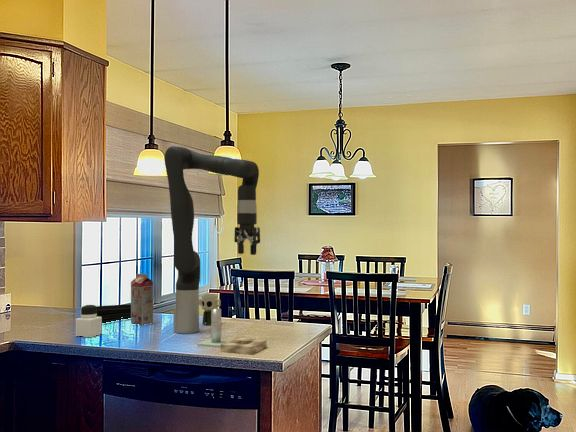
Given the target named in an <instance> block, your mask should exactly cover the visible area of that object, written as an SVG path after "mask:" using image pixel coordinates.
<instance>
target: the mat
mask: <svg viewBox="0 0 576 432" xmlns="http://www.w3.org/2000/svg"><path fill="white" fill-rule="evenodd" d="M230 340H231V339H222V338H221V342H220V343H212V342H211V337H210V338H208V339H206V340H203V341H200V342H197V343H196V345H197V346H201V347H212V348H221V344H223V343H225V342H228V341H230Z"/></svg>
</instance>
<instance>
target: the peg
mask: <svg viewBox="0 0 576 432" xmlns="http://www.w3.org/2000/svg"><path fill="white" fill-rule="evenodd" d="M210 338H211V342H212V343H220V342H221V339H222V309H221V308H220V307H218V308H214V309H211V324H210Z"/></svg>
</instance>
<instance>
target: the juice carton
mask: <svg viewBox="0 0 576 432" xmlns="http://www.w3.org/2000/svg"><path fill="white" fill-rule="evenodd" d="M135 276H136V277H135V278H134V279H132V280H131V281H130V304H131V319H130V324H131V323H132V324H139V325H144V324H150V323H153V324H154V281H153V280H152V279H150V278H149V277H148V274H146V273H136V275H135ZM150 325H151V324H150Z"/></svg>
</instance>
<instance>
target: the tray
mask: <svg viewBox="0 0 576 432" xmlns="http://www.w3.org/2000/svg"><path fill="white" fill-rule="evenodd" d="M96 306H97V315H96V317H102V323H106V322H111V321H116V320H121V319H128V318H131V303H129V304H128V303H127V304H126V303H125V304H113V305H96ZM120 317H123V318H120Z"/></svg>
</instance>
